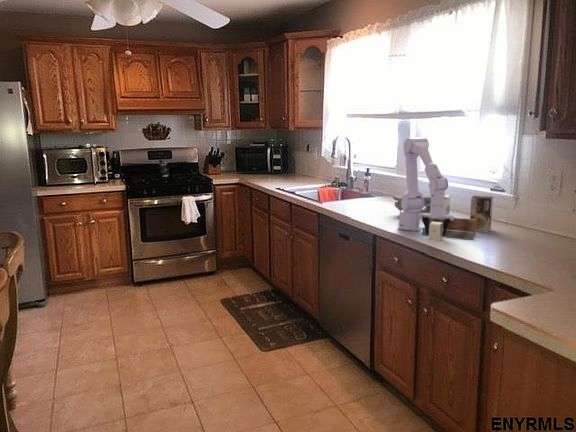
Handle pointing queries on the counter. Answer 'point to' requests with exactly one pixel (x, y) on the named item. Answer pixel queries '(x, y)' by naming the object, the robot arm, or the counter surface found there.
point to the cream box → (435, 230)
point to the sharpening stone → (425, 197)
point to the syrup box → (446, 204)
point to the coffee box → (482, 212)
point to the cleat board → (457, 228)
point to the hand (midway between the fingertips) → (435, 234)
